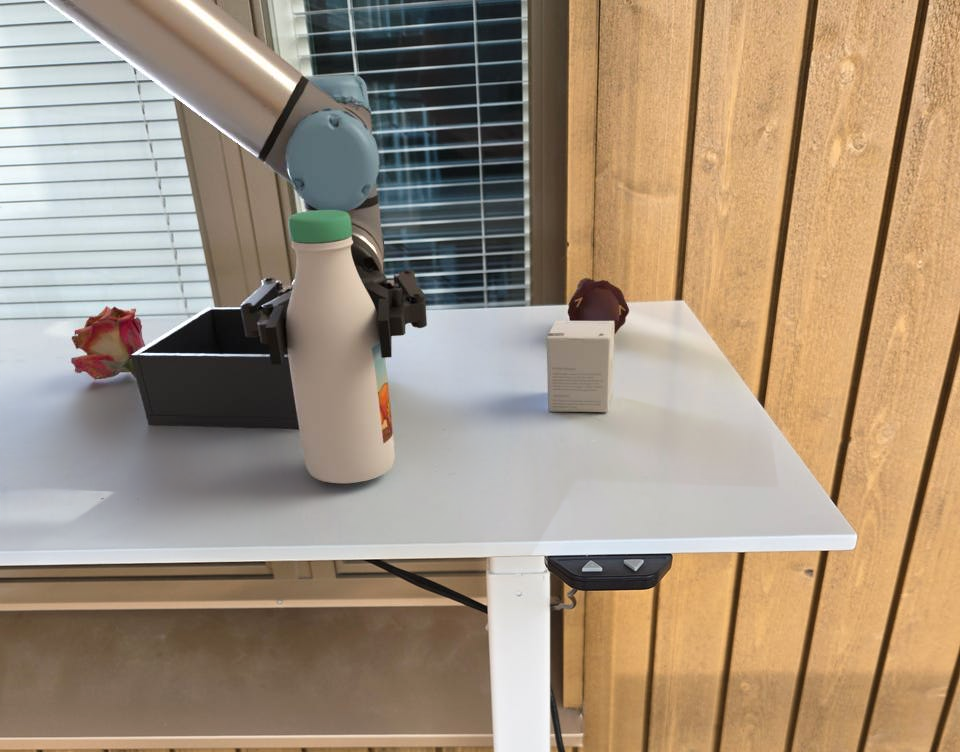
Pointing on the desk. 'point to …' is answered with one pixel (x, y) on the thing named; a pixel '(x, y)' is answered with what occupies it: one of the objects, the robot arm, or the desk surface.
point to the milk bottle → (336, 355)
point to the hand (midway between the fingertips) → (329, 342)
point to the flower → (108, 343)
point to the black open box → (214, 376)
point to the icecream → (598, 303)
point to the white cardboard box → (580, 366)
